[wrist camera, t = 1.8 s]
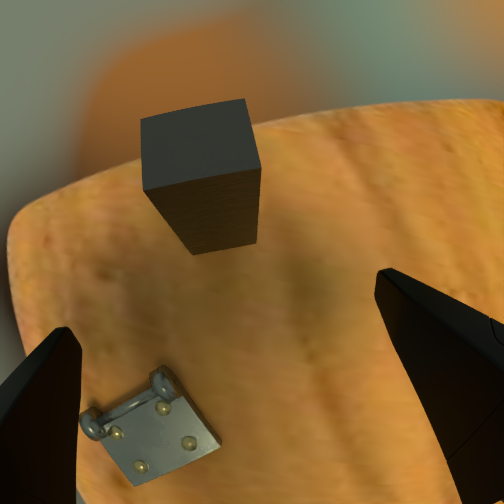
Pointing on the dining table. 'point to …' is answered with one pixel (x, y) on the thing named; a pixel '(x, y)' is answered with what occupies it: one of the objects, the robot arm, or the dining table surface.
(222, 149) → the dark grey block
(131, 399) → the fixed hinge leaf
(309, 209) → the dining table surface
